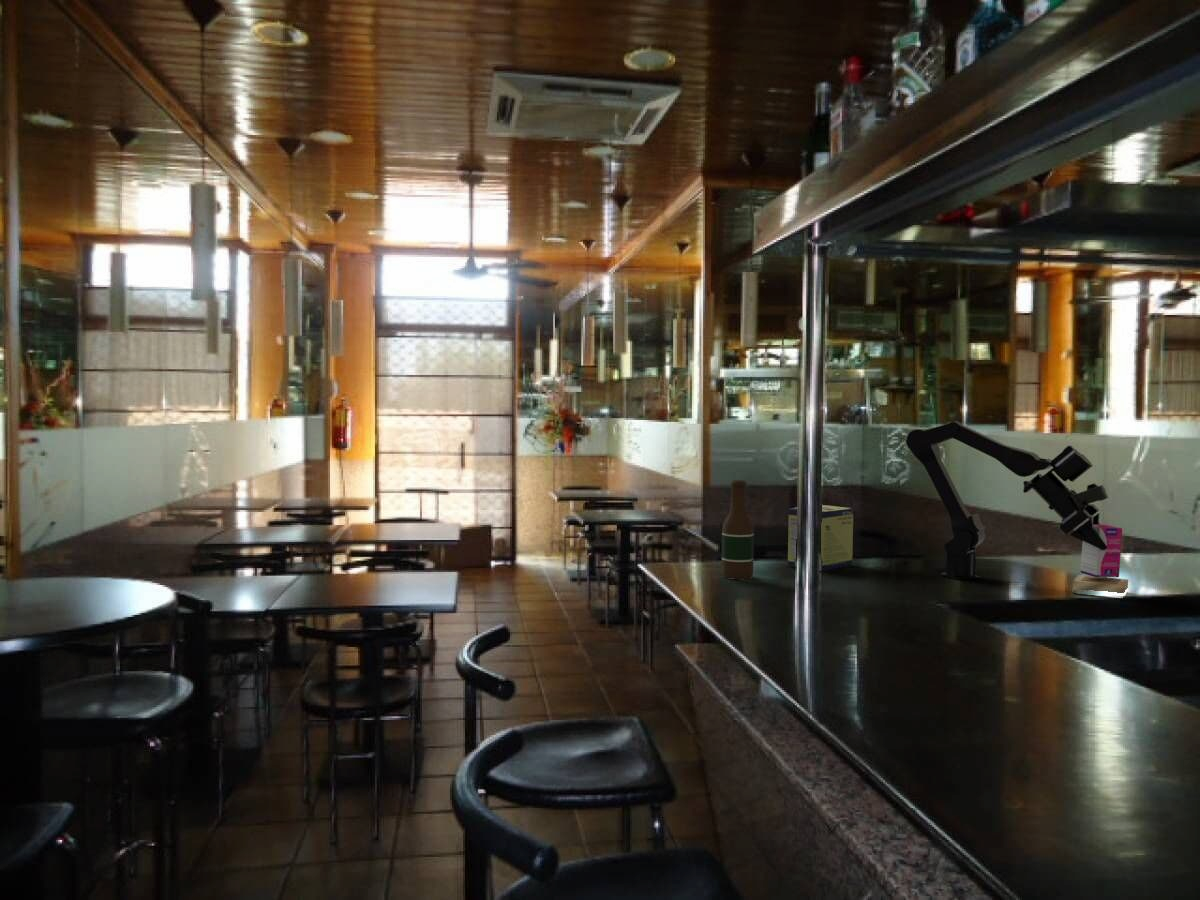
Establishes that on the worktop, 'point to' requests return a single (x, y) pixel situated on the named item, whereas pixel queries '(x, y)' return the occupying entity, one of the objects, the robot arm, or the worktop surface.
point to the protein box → (828, 536)
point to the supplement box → (1103, 553)
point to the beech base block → (1100, 584)
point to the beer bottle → (737, 536)
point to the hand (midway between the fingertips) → (1107, 546)
